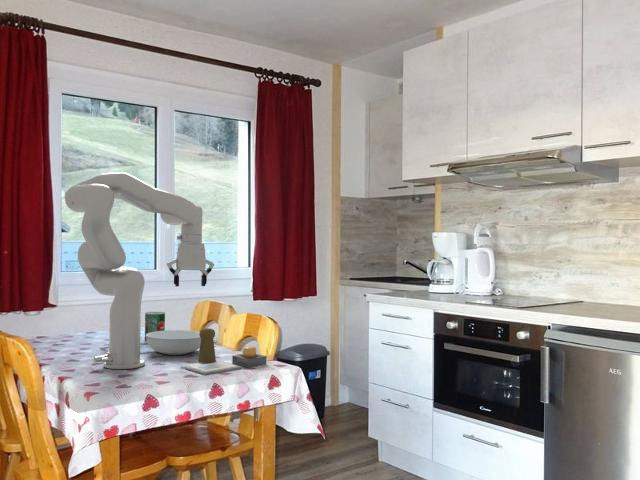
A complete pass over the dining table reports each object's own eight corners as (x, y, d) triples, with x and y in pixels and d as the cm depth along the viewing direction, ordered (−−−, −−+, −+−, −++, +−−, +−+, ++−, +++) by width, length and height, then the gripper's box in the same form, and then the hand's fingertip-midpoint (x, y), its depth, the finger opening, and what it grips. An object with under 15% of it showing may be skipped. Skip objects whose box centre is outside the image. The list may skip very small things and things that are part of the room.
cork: (218, 359, 201) (218, 327, 201) (213, 363, 195) (213, 330, 195) (200, 359, 202) (201, 327, 202) (195, 362, 196) (195, 329, 196)
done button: (248, 359, 192) (248, 349, 192) (240, 357, 195) (240, 347, 195) (258, 357, 195) (259, 348, 195) (250, 355, 198) (250, 346, 198)
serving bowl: (190, 360, 201) (191, 339, 201) (134, 356, 205) (135, 337, 205) (213, 349, 221) (214, 331, 221) (162, 346, 225) (162, 328, 225)
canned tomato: (143, 338, 242) (143, 312, 242) (162, 337, 245) (163, 311, 245) (146, 341, 235) (146, 314, 235) (166, 340, 238) (166, 313, 238)
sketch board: (204, 375, 178) (204, 372, 178) (185, 369, 186) (185, 366, 186) (242, 368, 188) (242, 365, 188) (222, 363, 196) (222, 360, 196)
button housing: (247, 367, 189) (247, 359, 189) (232, 363, 195) (232, 355, 195) (266, 364, 195) (266, 356, 195) (251, 360, 201) (251, 352, 201)
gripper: (169, 238, 209) (168, 287, 209) (217, 240, 216) (216, 286, 216) (165, 238, 216) (164, 285, 215) (211, 240, 223) (210, 285, 223)
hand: (190, 286), depth 216 cm, fingers open, 9 cm apart
